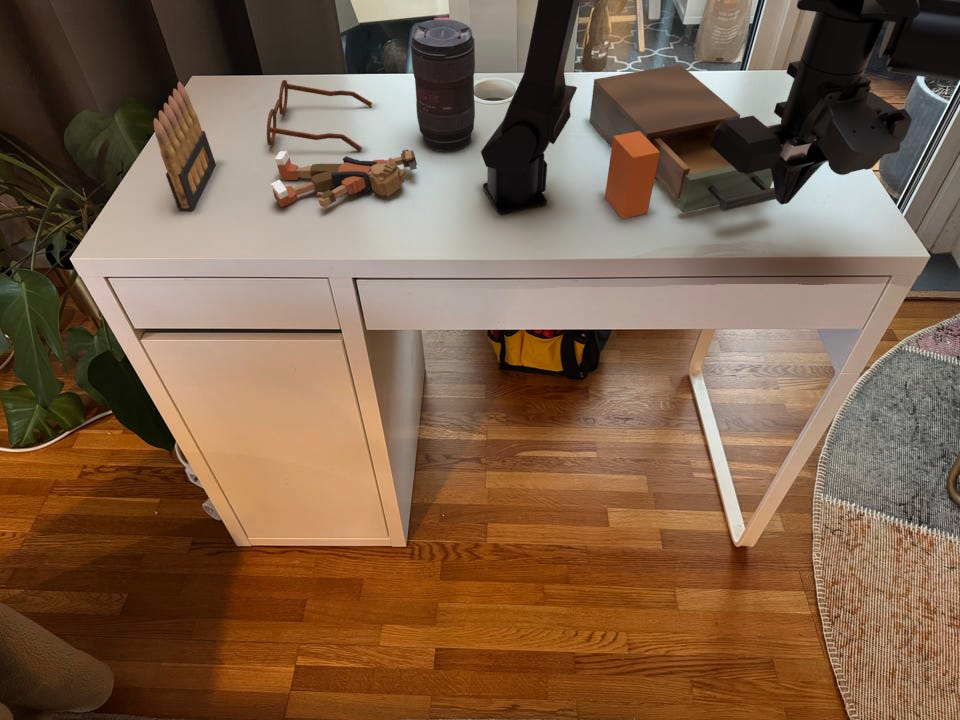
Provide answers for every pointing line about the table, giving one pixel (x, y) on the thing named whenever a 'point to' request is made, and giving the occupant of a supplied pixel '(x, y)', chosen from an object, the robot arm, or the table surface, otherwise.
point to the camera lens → (444, 82)
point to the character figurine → (342, 177)
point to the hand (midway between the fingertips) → (781, 202)
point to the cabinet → (655, 103)
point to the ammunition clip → (184, 149)
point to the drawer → (706, 173)
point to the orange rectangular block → (631, 174)
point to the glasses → (299, 134)
